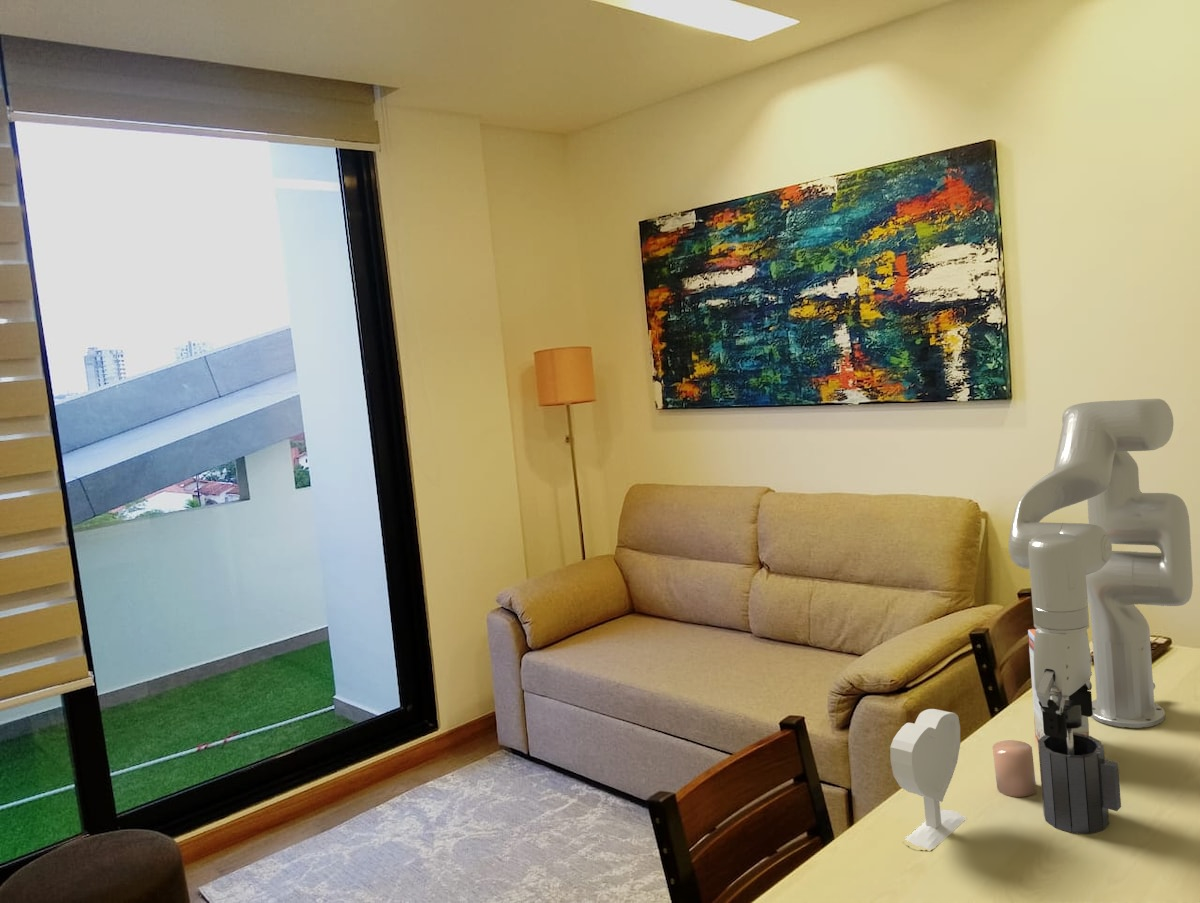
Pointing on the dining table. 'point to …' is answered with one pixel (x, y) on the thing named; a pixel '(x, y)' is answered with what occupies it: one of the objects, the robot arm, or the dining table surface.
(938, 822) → the heart sculpture
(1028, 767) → the pink rounded cylinder
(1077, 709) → the plunger
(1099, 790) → the grey paneled mug
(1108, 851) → the dining table surface
